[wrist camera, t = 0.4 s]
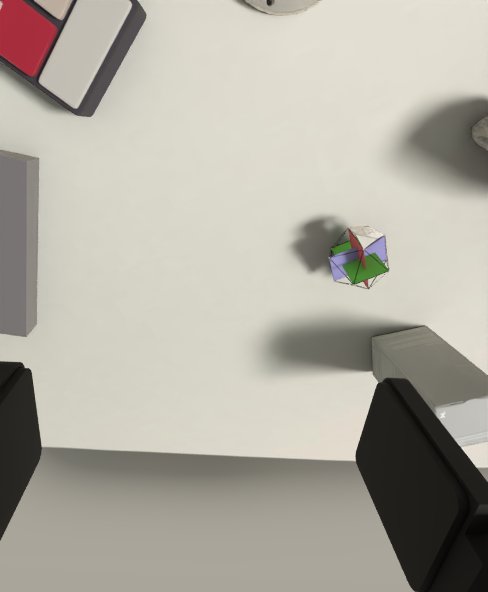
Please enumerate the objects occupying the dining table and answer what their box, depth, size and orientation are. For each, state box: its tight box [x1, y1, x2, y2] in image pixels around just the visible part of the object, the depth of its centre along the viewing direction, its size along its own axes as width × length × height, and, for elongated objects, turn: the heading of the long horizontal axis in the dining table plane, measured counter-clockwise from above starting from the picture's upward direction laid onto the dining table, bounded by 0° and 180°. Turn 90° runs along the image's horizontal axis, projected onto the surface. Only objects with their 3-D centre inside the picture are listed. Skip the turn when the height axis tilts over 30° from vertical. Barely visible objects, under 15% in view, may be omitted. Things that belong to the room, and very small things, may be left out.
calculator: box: [0, 0, 146, 117], centre depth 33 cm, size 11×4×15 cm
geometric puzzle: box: [328, 226, 390, 290], centre depth 45 cm, size 7×7×8 cm
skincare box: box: [372, 326, 488, 447], centre depth 47 cm, size 8×7×16 cm
